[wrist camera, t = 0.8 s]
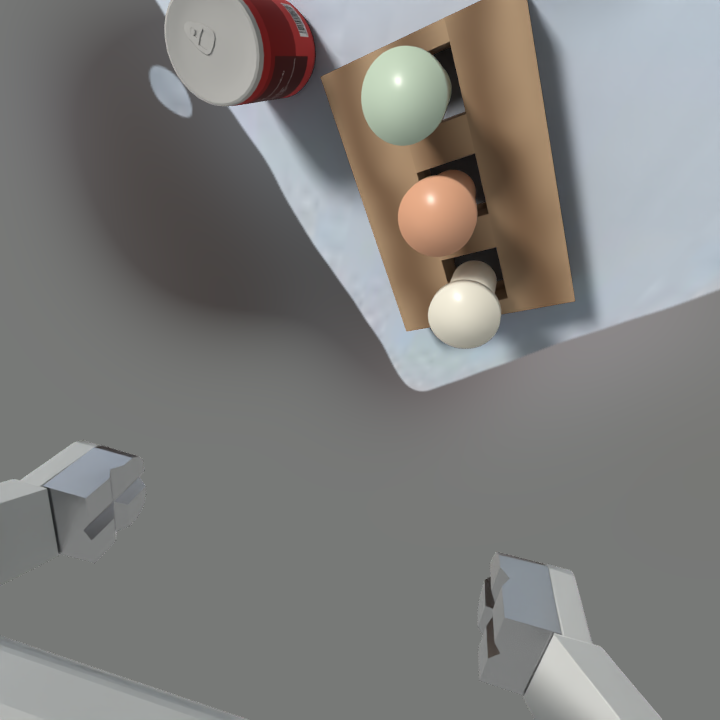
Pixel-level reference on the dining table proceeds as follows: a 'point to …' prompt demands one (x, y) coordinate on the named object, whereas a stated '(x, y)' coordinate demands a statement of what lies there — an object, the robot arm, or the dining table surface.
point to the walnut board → (460, 139)
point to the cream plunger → (466, 307)
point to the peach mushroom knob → (439, 213)
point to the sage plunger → (405, 95)
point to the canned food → (239, 49)
